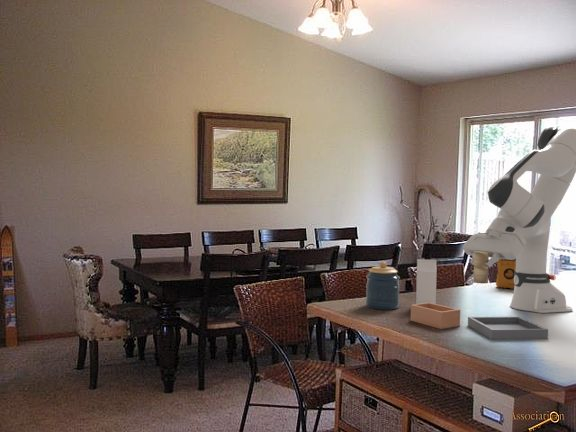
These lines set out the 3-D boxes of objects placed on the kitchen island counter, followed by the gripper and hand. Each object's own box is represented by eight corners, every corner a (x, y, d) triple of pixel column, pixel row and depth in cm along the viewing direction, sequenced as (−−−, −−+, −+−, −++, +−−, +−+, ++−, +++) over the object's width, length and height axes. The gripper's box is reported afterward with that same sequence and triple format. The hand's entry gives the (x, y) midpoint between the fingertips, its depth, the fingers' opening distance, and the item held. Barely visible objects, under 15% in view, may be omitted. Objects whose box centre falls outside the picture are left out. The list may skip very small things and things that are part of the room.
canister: (406, 308, 218) (407, 262, 218) (380, 311, 211) (381, 264, 211) (383, 302, 229) (384, 259, 229) (358, 305, 222) (359, 260, 222)
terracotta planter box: (428, 317, 202) (429, 302, 202) (459, 325, 190) (460, 309, 190) (410, 320, 197) (410, 304, 197) (441, 329, 185) (441, 312, 185)
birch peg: (484, 281, 188) (485, 251, 188) (490, 283, 184) (490, 252, 183) (471, 281, 188) (471, 251, 188) (476, 283, 183) (477, 252, 183)
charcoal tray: (518, 325, 192) (519, 316, 192) (547, 339, 174) (548, 329, 174) (467, 325, 190) (467, 316, 190) (491, 339, 173) (492, 329, 172)
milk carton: (435, 311, 214) (436, 261, 213) (416, 310, 215) (417, 260, 214) (434, 307, 221) (435, 259, 220) (415, 306, 222) (417, 258, 221)
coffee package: (522, 291, 261) (524, 243, 261) (494, 288, 267) (495, 242, 267) (524, 288, 270) (526, 242, 269) (497, 285, 276) (498, 240, 275)
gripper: (471, 226, 198) (451, 255, 193) (522, 229, 180) (501, 261, 175) (480, 238, 200) (460, 267, 195) (530, 242, 183) (510, 274, 178)
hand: (480, 264), depth 185 cm, fingers closed on birch peg, 4 cm apart
